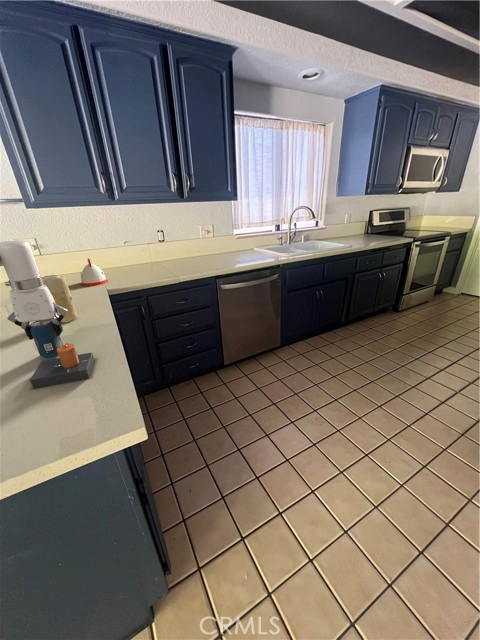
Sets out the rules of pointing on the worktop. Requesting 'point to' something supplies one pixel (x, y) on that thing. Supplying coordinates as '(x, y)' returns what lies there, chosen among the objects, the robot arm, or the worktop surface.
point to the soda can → (46, 338)
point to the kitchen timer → (92, 275)
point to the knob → (68, 355)
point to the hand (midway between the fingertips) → (46, 335)
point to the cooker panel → (61, 371)
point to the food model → (60, 295)
